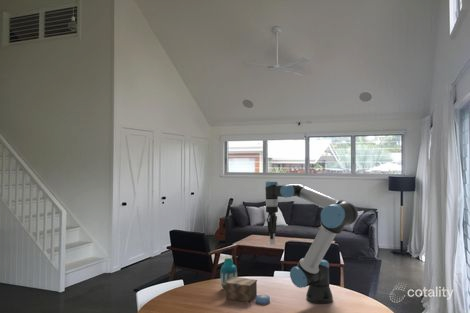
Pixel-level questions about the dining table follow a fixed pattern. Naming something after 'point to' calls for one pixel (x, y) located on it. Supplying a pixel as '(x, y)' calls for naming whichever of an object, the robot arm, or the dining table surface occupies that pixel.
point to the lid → (240, 282)
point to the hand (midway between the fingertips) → (272, 244)
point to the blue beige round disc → (262, 299)
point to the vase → (227, 271)
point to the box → (241, 292)
